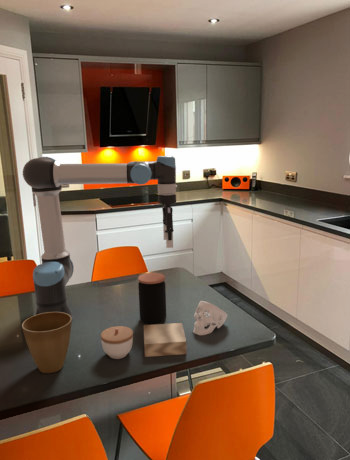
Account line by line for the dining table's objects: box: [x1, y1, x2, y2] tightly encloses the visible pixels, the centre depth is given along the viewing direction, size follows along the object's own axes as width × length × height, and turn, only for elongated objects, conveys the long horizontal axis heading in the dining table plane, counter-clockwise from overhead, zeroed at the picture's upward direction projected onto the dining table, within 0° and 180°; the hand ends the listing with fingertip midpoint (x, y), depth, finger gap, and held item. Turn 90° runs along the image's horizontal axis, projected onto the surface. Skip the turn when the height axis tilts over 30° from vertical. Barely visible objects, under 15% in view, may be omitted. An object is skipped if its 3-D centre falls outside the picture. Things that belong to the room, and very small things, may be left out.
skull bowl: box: [192, 300, 228, 336], centre depth 153 cm, size 10×14×12 cm
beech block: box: [143, 322, 188, 358], centre depth 141 cm, size 14×14×5 cm
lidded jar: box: [100, 325, 134, 360], centre depth 135 cm, size 11×11×9 cm
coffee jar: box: [137, 272, 167, 325], centre depth 160 cm, size 11×11×18 cm
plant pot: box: [21, 312, 73, 374], centre depth 128 cm, size 15×15×16 cm
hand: (168, 243), depth 171 cm, fingers open, 13 cm apart
